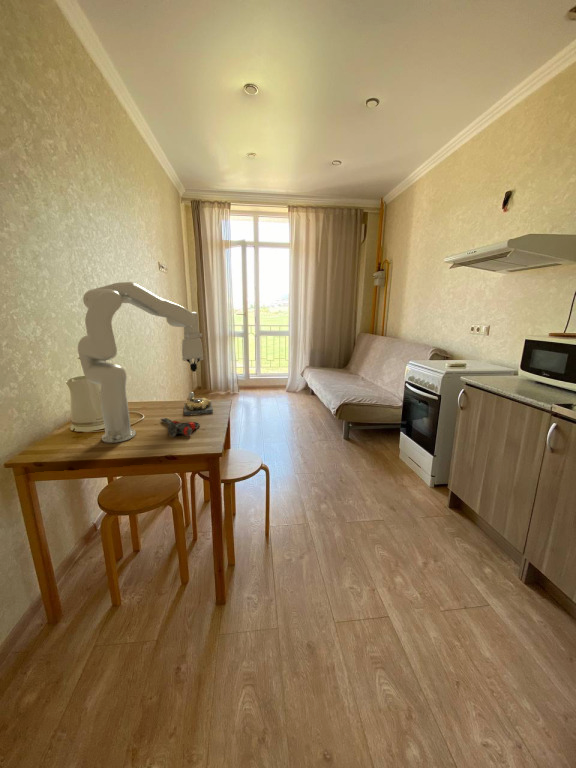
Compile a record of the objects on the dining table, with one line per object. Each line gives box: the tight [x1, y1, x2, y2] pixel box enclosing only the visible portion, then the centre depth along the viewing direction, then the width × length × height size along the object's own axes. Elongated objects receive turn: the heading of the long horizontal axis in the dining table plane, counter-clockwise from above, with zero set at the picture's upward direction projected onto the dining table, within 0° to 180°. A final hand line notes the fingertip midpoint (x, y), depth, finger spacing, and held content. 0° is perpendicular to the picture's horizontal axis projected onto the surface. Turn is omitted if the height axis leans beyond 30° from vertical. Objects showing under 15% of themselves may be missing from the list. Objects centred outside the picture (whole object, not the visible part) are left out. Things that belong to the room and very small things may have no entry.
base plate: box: [183, 400, 214, 416], centre depth 162 cm, size 15×14×2 cm
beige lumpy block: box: [184, 391, 212, 410], centre depth 161 cm, size 13×12×6 cm
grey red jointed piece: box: [160, 417, 201, 438], centre depth 139 cm, size 6×26×15 cm
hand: (193, 371), depth 161 cm, fingers closed
